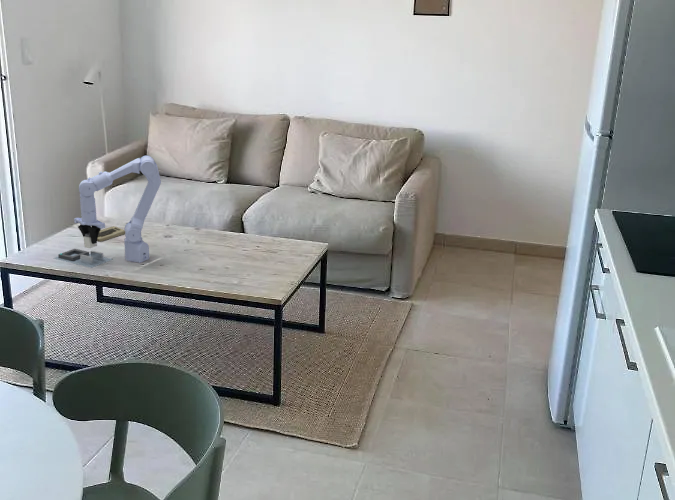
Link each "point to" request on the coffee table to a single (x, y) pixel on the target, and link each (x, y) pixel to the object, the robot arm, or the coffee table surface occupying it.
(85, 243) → the plug
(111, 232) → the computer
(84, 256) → the plate with twin rails
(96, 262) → the panel board
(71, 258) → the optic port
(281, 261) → the coffee table surface
